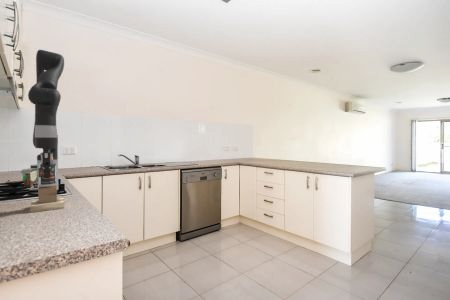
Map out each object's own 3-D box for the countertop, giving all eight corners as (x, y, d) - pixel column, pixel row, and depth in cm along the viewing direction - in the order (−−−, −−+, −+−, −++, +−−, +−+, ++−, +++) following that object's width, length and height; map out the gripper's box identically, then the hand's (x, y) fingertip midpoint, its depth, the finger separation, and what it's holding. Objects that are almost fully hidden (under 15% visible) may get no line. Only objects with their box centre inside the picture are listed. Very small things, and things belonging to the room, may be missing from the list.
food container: (26, 183, 155) (25, 168, 155) (37, 183, 158) (37, 167, 157) (17, 187, 144) (17, 170, 143) (30, 186, 146) (29, 170, 146)
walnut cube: (39, 200, 102) (39, 186, 101) (56, 198, 105) (56, 185, 105) (38, 203, 97) (38, 189, 96) (56, 201, 100) (56, 187, 100)
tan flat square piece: (32, 206, 102) (32, 200, 102) (63, 202, 108) (63, 197, 108) (30, 212, 94) (30, 205, 94) (64, 208, 100) (64, 201, 100)
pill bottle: (38, 186, 96) (37, 158, 96) (39, 183, 101) (38, 157, 101) (56, 184, 100) (55, 157, 99) (56, 182, 105) (55, 156, 104)
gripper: (57, 136, 96) (58, 178, 97) (57, 136, 108) (58, 174, 108) (33, 136, 92) (34, 180, 92) (36, 136, 103) (37, 175, 104)
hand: (47, 176), depth 100 cm, fingers closed on pill bottle, 6 cm apart
